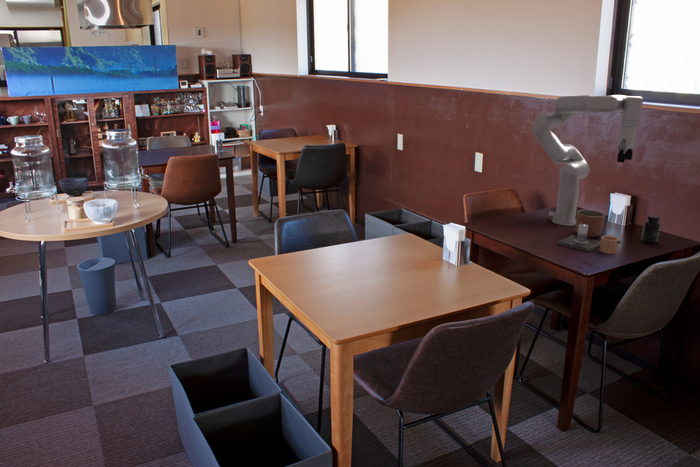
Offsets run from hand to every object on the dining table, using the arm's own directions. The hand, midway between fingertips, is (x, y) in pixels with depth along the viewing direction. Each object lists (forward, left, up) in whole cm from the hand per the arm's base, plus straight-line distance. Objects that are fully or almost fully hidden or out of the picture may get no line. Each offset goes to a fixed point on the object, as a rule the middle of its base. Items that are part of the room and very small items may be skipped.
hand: (624, 160), depth 255 cm
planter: (-8, -11, -36) cm, 39 cm away
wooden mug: (+8, -28, -36) cm, 46 cm away
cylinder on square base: (-4, -28, -36) cm, 46 cm away
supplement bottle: (+16, +1, -36) cm, 40 cm away
